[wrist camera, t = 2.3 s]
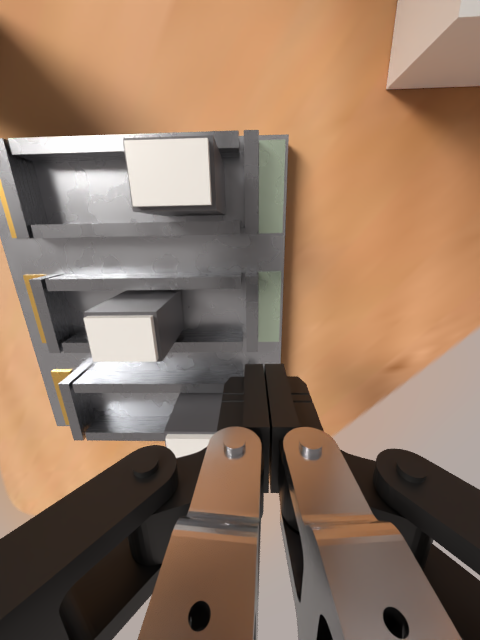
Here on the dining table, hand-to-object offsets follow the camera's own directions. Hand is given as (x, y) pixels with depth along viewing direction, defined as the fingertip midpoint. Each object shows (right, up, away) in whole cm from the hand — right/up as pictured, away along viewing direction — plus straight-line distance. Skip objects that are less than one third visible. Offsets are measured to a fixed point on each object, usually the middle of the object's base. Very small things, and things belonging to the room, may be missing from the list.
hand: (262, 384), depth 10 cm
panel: (-8, +4, +11) cm, 14 cm away
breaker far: (-4, -4, +12) cm, 13 cm away
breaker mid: (-7, +3, +10) cm, 12 cm away
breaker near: (-4, +11, +7) cm, 13 cm away
